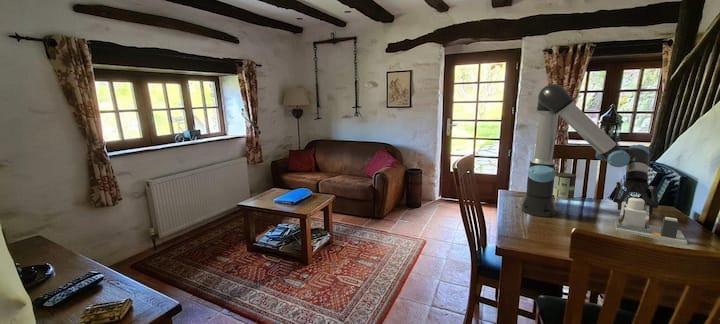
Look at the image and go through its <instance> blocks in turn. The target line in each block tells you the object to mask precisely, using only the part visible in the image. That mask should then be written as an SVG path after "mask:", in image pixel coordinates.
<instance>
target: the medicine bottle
mask: <svg viewBox="0 0 720 324" xmlns="http://www.w3.org/2000/svg"><path fill="white" fill-rule="evenodd" d="M625 200H626V201H625V204H624V212H623V218H621V221H622V224H623V225H629V226H635V227H641V228H644V227H645V222H646V215H647V212H646V203H645V202H646V200H645V199H643V197H641V196H640V197H639V196H634V195H633V196H627V197H626V199H625Z"/></svg>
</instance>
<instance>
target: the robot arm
mask: <svg viewBox="0 0 720 324" xmlns="http://www.w3.org/2000/svg"><path fill="white" fill-rule="evenodd" d="M536 112H537V113H538V114H539V115H538V122H537V123H538V126H537V132H536V137H535V140H536V141H535V144H534V145H535V147H534V153H533V158H532V159H531V160H529V168H528V170H527V179H526V181H527V184H526V192H525V193H526V194H525V198H524V200H523V201H522V203H521V206H520V207H521V208H520V210H521V212H523V213H525V214H528V215H531V216H536V217H543V218H545V217H553V216H555V214H556V209H555V205H554V201H553V194H554V184H555V173H556V171H555V165H556V162H555V161H554V160H553V157H554V148H555V142H556V135H557V129H558V122H559V117H560V118H561V119H563V120H564V122H566V123H567V125H569V126H570V127H571V129H573V130H574V131H575V132H576V133H577V134H578V135H579V136H580V137H581V138H583V140H585V142H587V143H588V144H589V145H590V147H592V148H593V150H595V159H597V160H601V161H606V162H607V163H608V164H609V165H610V166H612V167H615V168H623V167H625V166H626V168H625V169H626V170H625V179H624V182H620V181H617V182H616V185H615V187H616V190H615V193H614V196H613V199H612V202H613V203H617V210H618V211H620V216H619V218H623V212H624V205H625V200H626V199H627V197H629V195H630V194H631V193H635V194H639V195H640V197H641V198H643V199H645V200H646V202H645V210H646V212H647V215H646V222H647V223H648V222H649V219H650V216H652V214H653V213H654V212H653V210H654V209H658V208H659V206H660V203H659V202H660V201H659V198H658V192H657V190H658V187H659V186H656V185H654V186H652V185H650V184H649V161H650V150H649V148H648V147H647V146H646V145H643V144H631V145H630V146H629V147H621V146H620V145H618V144H617V143H616V142H615V141H614V140H613V139H612V137H610V135H608V134H607V133H606V132H605V131H604V130H603V129H601V127H599V125H598V124H596V123H595V122H594V121H593V120H592V119H591V118H590V117H589V116H588V115H587V114H586V113H585V112H583V110H582V109H580V108H579V107H578V105H576V104H575V100H574V99H573V98H572V96H571V95H570V94H569V93H568V92H567V90H566V89H565V88H564V87H563V86H562V85H561V84H556V83H552V84H548V85H546V86H544V87H543V88H541V90H540V91H539V93H538V97H537V107H536ZM623 187H625V189H626V190H625V192H623V194H622V196H621V197H620V198H618V197H619V195H620V191H621V188H623ZM648 189H649V191H650V192H651V199H652V200H651V199H650V197H649V195H648V193H647V190H648Z"/></svg>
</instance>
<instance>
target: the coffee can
mask: <svg viewBox="0 0 720 324" xmlns="http://www.w3.org/2000/svg"><path fill="white" fill-rule="evenodd" d="M576 179H577V174H575V173H571V172H555V178H554V187H553V195H554V197H553V198H556V199H559V200H566V201H570V200H571V201H572V200H574V199H575V198H574V197H575V189H576V188H575V187H576V181H577V180H576Z"/></svg>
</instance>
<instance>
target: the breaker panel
mask: <svg viewBox="0 0 720 324" xmlns="http://www.w3.org/2000/svg"><path fill="white" fill-rule="evenodd" d="M614 222H615V231H616V232H617V231H618V232H619V233H623V232H625V233H624V234H628V233H629V235H633V234H634V236H638V235H639V236H638V237H644V238H650V239H655V240H660V239H661V240H660V241H665V240H668V241H667V242H670V241H672V243H675V242H676V244H682V245H686V244H687V245H688V241H687V239H686V237H685V236H684V234H683V233H682V230H679V229H678V230H677V235H676V239H674V238H669V237H664V236H661V228H662V226H655V225H649V223H648V222H645V227H644V228H641V227H635V226H629V225H623V224H622V221H621V218H620V217H616V216H615V221H614Z"/></svg>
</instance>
